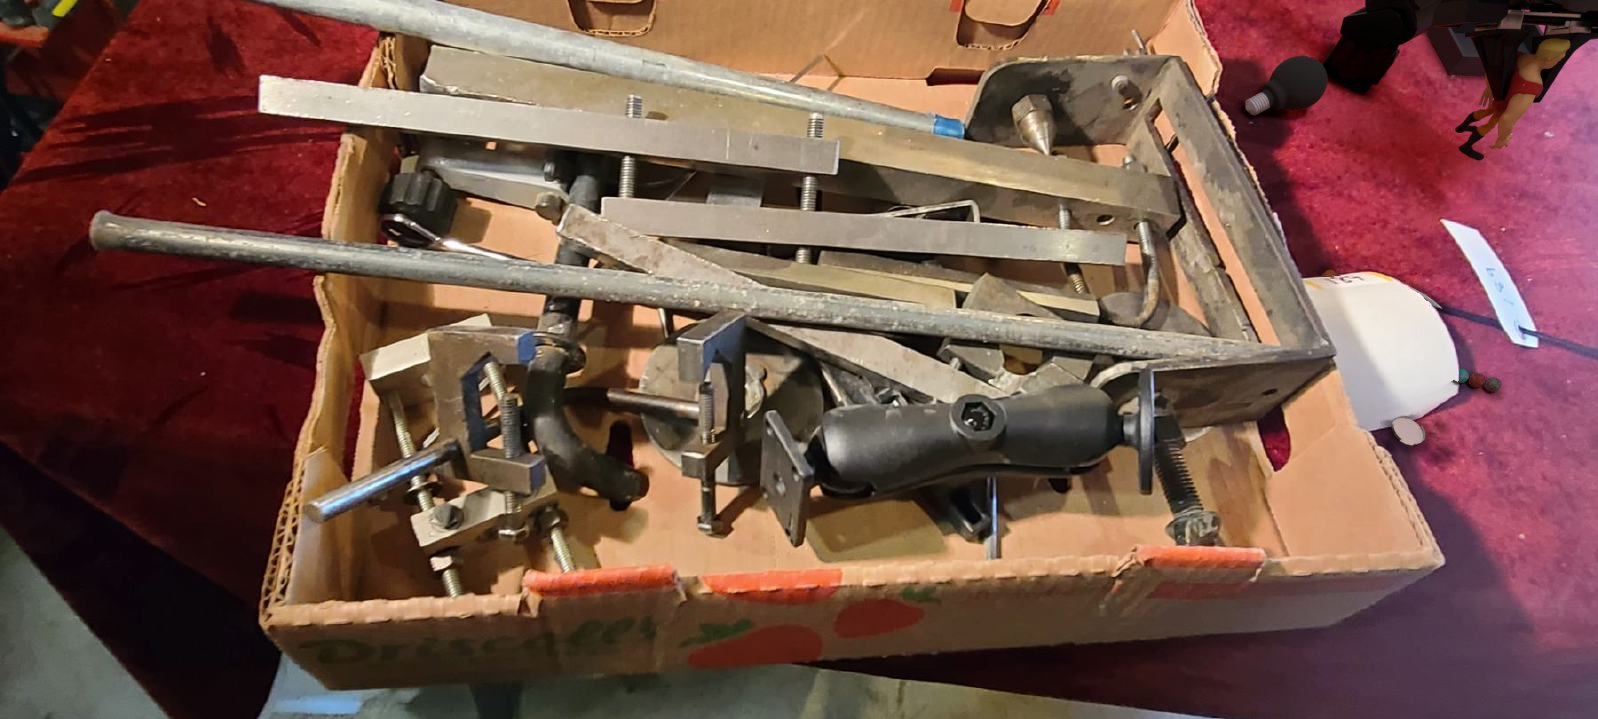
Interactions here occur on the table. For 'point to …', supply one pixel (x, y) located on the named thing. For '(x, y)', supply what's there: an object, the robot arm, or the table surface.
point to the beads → (1479, 380)
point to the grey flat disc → (1407, 431)
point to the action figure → (1512, 97)
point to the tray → (1467, 48)
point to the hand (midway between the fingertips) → (1516, 101)
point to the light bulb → (1291, 86)
